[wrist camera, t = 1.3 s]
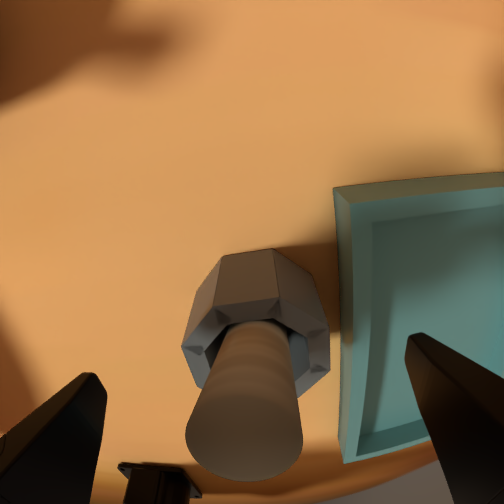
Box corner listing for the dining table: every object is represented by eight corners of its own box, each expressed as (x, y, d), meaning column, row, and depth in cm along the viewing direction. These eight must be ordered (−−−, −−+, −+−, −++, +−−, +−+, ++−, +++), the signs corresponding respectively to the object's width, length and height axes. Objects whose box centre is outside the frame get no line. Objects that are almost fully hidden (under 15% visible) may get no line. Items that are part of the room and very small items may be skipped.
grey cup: (316, 338, 16) (330, 394, 12) (214, 352, 16) (207, 409, 13) (308, 243, 14) (327, 289, 10) (188, 261, 14) (168, 311, 11)
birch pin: (287, 335, 15) (310, 514, 7) (238, 341, 15) (227, 520, 7) (272, 237, 13) (301, 417, 5) (216, 246, 14) (165, 427, 5)
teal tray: (474, 396, 19) (486, 416, 17) (337, 436, 20) (343, 463, 18) (526, 171, 12) (556, 182, 10) (332, 187, 13) (349, 203, 11)
